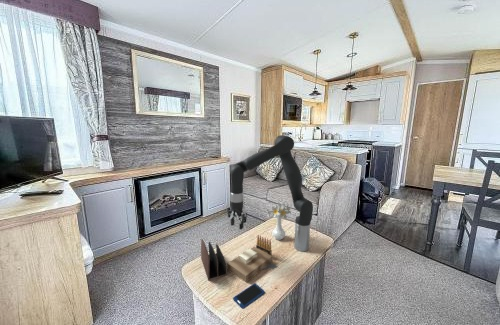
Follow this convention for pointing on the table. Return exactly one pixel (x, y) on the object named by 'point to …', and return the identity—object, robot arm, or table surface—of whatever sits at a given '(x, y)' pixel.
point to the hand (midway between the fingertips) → (236, 226)
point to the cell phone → (248, 295)
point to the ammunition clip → (264, 245)
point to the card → (247, 256)
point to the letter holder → (213, 261)
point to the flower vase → (279, 219)
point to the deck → (249, 265)
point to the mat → (270, 266)
